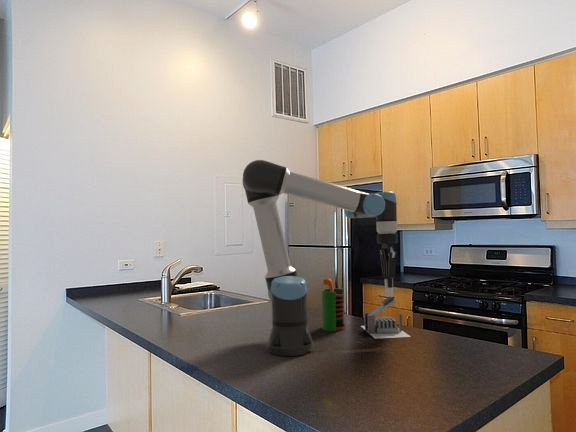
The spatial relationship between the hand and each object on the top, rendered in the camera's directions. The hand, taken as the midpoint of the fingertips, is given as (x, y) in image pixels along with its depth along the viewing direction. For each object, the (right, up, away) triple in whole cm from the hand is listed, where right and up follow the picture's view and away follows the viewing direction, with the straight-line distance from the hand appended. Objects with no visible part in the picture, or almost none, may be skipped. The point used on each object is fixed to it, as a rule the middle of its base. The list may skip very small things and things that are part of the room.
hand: (389, 296), depth 153 cm
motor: (-20, -15, +6) cm, 26 cm away
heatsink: (-2, -13, -1) cm, 13 cm away
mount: (-2, -13, -1) cm, 13 cm away
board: (-2, -14, -1) cm, 14 cm away
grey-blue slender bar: (-3, -5, -1) cm, 6 cm away
